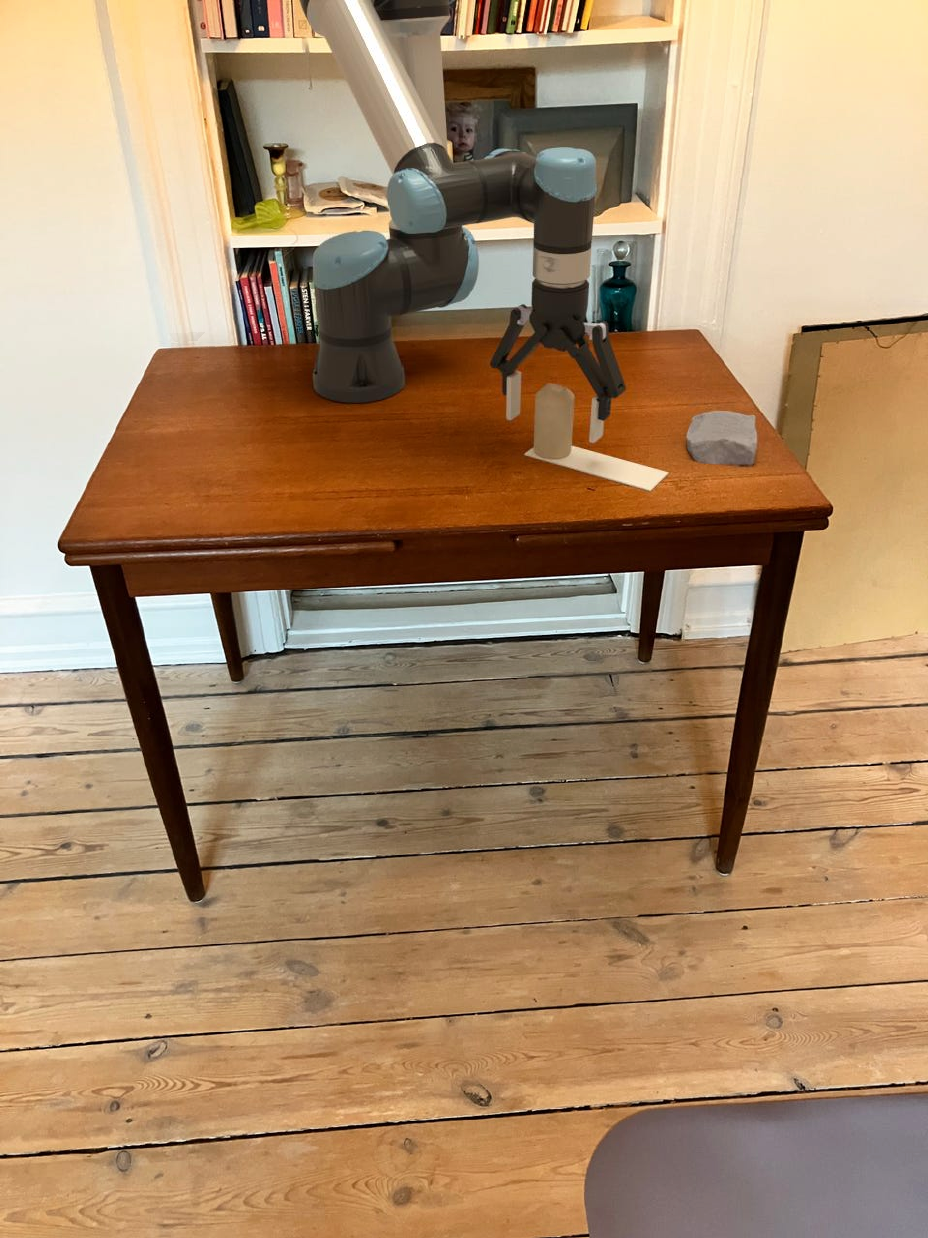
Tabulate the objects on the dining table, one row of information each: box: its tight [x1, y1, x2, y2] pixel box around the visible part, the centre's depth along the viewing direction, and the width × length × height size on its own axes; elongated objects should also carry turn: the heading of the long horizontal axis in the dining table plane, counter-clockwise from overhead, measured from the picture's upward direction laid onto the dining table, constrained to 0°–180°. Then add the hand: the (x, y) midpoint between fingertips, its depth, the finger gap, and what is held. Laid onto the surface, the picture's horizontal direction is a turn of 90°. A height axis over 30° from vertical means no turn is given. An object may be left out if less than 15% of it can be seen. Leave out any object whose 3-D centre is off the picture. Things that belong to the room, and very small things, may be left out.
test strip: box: [524, 445, 670, 492], centre depth 143 cm, size 20×6×1 cm, turn 57°
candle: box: [533, 382, 576, 459], centre depth 143 cm, size 6×6×10 cm
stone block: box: [685, 410, 758, 467], centre depth 146 cm, size 12×5×10 cm
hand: (553, 427), depth 144 cm, fingers open, 13 cm apart
